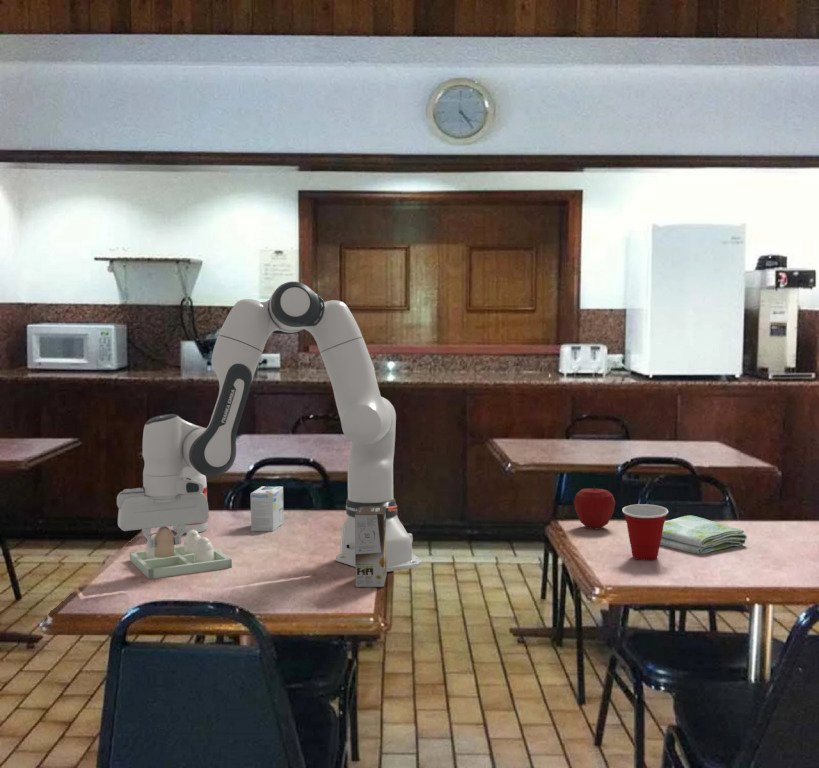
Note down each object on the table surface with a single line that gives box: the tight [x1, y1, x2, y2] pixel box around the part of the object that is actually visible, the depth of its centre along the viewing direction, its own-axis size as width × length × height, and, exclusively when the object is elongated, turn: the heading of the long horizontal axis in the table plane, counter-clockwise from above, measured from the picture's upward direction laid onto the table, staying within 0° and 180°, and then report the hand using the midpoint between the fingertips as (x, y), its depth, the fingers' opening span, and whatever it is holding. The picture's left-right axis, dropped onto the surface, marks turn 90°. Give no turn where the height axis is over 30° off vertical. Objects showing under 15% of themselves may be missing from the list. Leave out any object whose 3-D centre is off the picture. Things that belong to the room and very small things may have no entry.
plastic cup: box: [622, 503, 669, 561], centre depth 226 cm, size 11×11×12 cm
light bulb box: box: [249, 485, 284, 532], centre depth 264 cm, size 11×7×11 cm, turn 172°
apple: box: [573, 486, 616, 530], centre depth 260 cm, size 11×11×12 cm
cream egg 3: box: [194, 536, 214, 563], centre depth 221 cm, size 4×4×7 cm
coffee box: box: [355, 506, 387, 588], centre depth 207 cm, size 9×6×16 cm
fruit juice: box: [172, 467, 208, 535], centre depth 260 cm, size 9×9×28 cm
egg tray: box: [129, 545, 233, 580], centre depth 223 cm, size 19×19×2 cm
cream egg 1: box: [145, 533, 158, 560], centre depth 224 cm, size 4×4×7 cm
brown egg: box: [154, 526, 175, 558], centre depth 216 cm, size 4×4×7 cm
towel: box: [660, 514, 748, 555], centre depth 242 cm, size 18×21×5 cm
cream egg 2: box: [183, 530, 202, 555], centre depth 228 cm, size 4×4×7 cm
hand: (164, 545), depth 216 cm, fingers closed on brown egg, 4 cm apart
